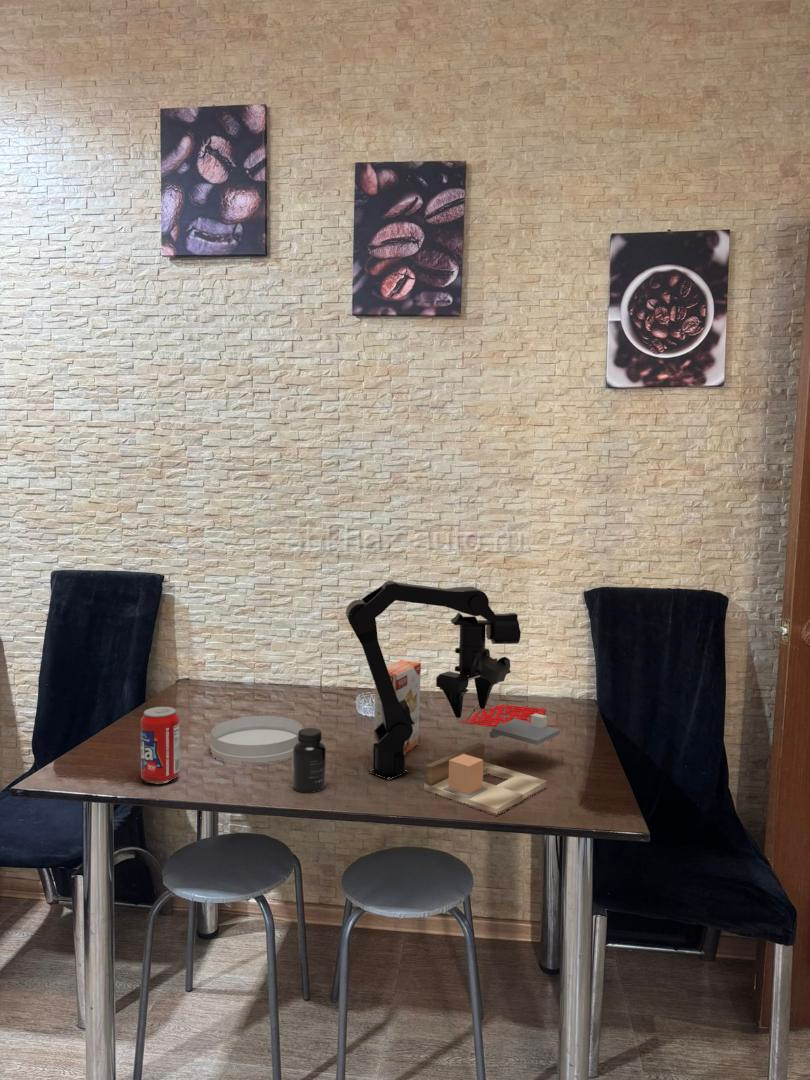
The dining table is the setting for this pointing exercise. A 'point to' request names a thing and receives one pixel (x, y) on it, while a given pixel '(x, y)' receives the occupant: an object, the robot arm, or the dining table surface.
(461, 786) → the block
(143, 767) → the soda can
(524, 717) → the maze puzzle
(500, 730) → the sliding cover
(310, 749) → the supplement bottle
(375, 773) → the robot arm
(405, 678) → the cracker box
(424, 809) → the dining table surface
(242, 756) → the dish
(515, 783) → the puzzle board
